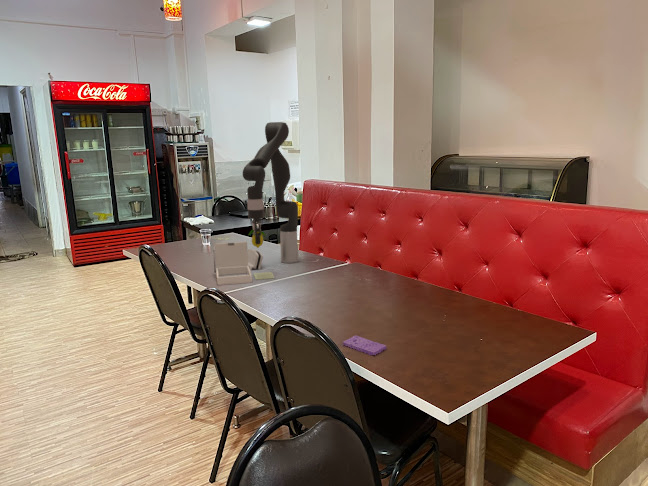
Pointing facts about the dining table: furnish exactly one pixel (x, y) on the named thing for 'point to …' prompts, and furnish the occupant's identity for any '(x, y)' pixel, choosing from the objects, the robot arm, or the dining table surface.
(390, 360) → the dining table surface
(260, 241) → the lemon
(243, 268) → the case
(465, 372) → the dining table surface
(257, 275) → the mat
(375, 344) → the sponges
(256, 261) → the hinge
